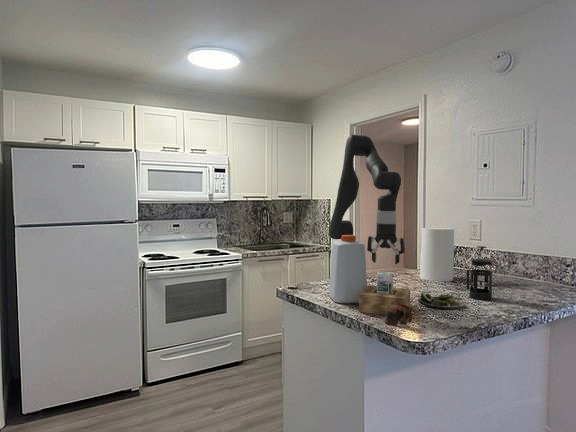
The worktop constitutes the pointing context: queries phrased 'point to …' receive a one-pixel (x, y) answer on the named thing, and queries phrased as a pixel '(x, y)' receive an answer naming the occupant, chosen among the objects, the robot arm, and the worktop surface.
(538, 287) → the worktop surface
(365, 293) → the slot block
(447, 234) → the cylinder
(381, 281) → the syrup box
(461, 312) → the worktop surface
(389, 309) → the pottery mug
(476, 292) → the french press
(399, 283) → the worktop surface
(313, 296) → the worktop surface
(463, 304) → the salad plate
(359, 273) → the plastic bottle
